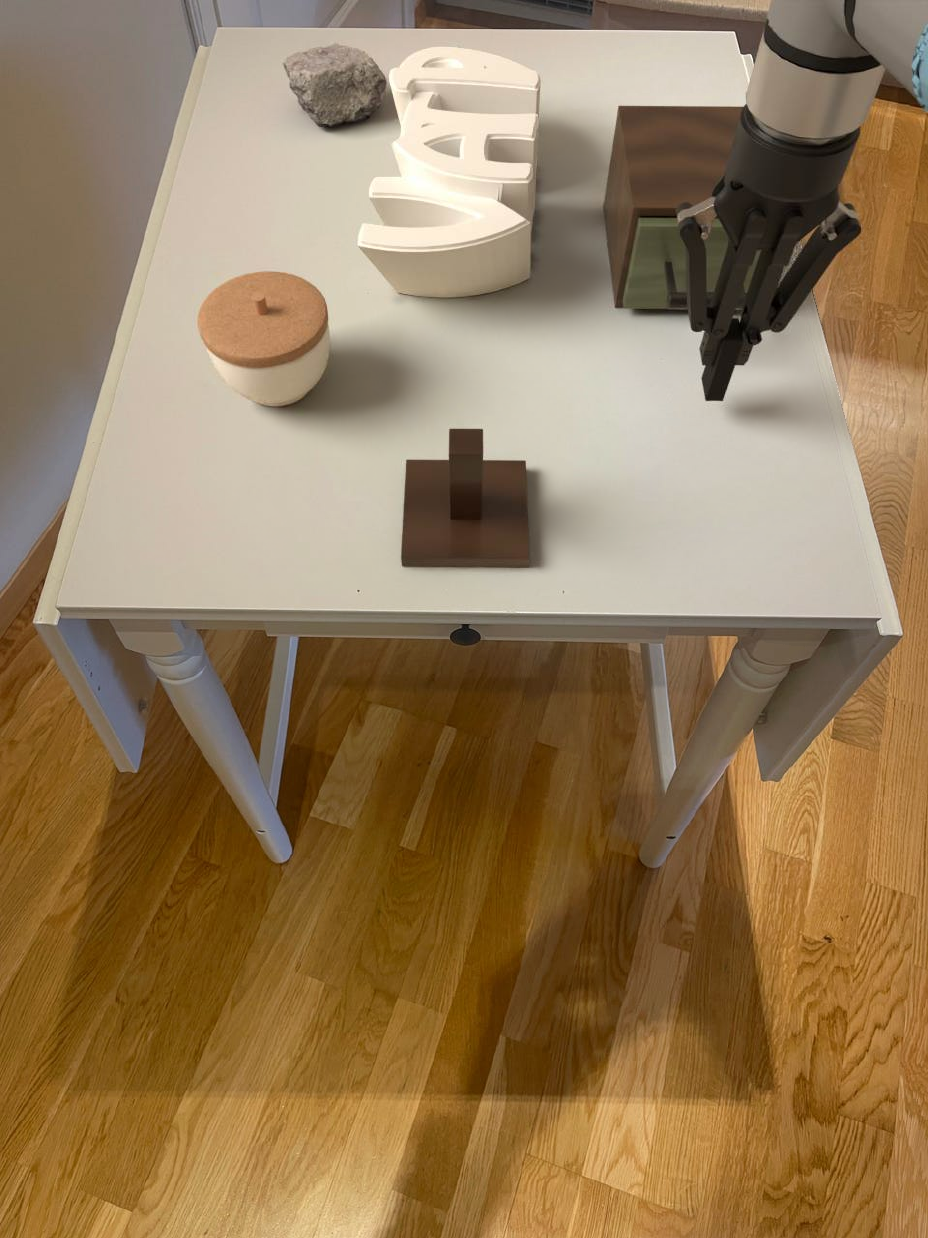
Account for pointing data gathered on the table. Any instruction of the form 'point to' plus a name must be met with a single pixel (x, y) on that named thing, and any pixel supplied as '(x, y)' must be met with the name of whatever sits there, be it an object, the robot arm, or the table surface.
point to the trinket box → (267, 336)
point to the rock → (336, 83)
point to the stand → (465, 508)
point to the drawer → (672, 265)
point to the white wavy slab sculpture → (458, 176)
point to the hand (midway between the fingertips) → (712, 389)
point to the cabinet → (661, 170)
